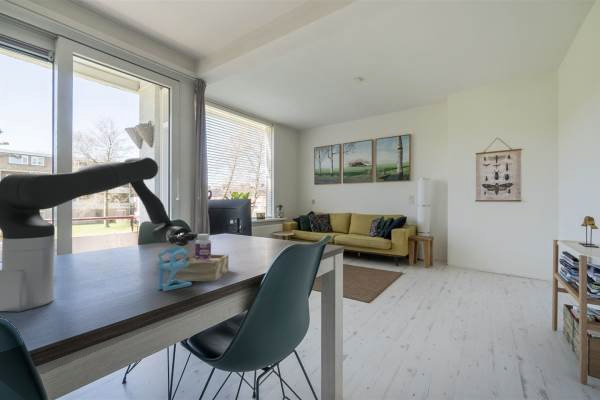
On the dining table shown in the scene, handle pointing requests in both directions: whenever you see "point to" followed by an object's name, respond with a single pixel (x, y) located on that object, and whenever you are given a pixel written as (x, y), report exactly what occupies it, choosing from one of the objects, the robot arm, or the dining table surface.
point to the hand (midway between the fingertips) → (195, 239)
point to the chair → (172, 269)
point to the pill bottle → (203, 248)
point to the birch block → (203, 269)
